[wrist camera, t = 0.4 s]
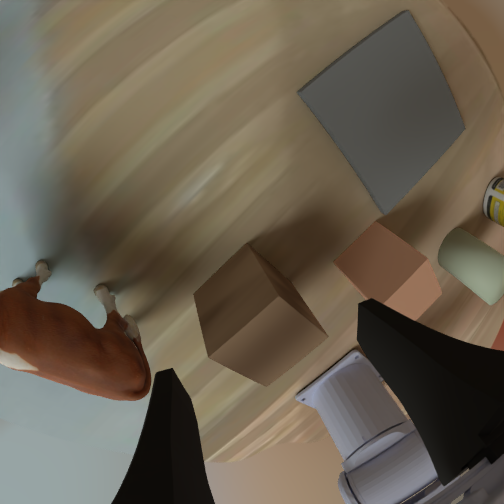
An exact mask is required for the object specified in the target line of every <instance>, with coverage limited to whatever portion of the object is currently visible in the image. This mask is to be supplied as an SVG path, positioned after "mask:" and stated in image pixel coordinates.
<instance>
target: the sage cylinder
mask: <svg viewBox="0 0 504 504" xmlns="http://www.w3.org/2000/svg"><path fill="white" fill-rule="evenodd" d="M438 262H439V265H440V266H441V267H443V268H444V269H445V270H447V271H448V272H449V273H451V274H452V275H453V276H454V277H456V278H457V279H458V280H459V281H461V282H462V283H463V284H464V285H466V286H467V287H468V288H469V289H471V290H472V291H473V292H474V293H476V294H477V295H478V296H479V297H480V298H482V299H483V300H484V301H485V302H486V303H488V304H489V305H493V304H494V303H496V302H497V301H498V300H499V299H500V298H501V297H502V296H503V294H504V256H503V255H502V254H500V253H499V252H497V251H496V250H495V249H493V248H492V247H490V246H488V245H487V244H485V243H484V242H482V241H481V240H479V239H478V238H476V237H475V236H473V235H471V234H470V233H468V232H467V231H465V230H463V229H462V228H455V229H453V230H452V231H451V232H450V233H449V234H448V235H447V236H446V237H445V239H444V240H443V242H442V244H441V246H440V249H439V253H438Z"/></svg>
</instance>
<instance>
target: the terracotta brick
mask: <svg viewBox="0 0 504 504" xmlns="http://www.w3.org/2000/svg"><path fill="white" fill-rule="evenodd" d="M333 263H334V264H335V265H336V266H337V267H338V268H339V269H340V271H341V272H342V273H343V274H344V275H345V276H346V278H347V279H348V280H349V281H350V282H351V283H352V285H353V286H354V287H355V288H356V289H357V291H358V292H359V293H360V294H361V295H362V296H363V297H364V298H365V299H366V300H368V299H370V298H373V299H375V300H377V301H379V302H381V303H382V304H384V305H386V306H388V307H390V308H392V309H393V310H395V311H397V312H399V313H401V314H403V315H405V316H406V317H408V318H410V319H412V320H414V321H416V320H417V319H418V318H419V317H420V316H421V315H422V314H423V313H424V312H425V311H426V310H427V309H428V308H429V307H430V306H431V305H432V304H433V303H434V302H435V300H436V299H437V298H438V297H439V296H440V295H441V294H442V291H441V288H440V286H439V283H438V281H437V278H436V276H435V274H434V271H433V269H432V267H431V264H430V262H429V260H428V258H427V257H425V256H424V255H423V254H421V253H420V252H419V251H417V250H416V249H415V248H413V247H412V246H410V245H409V244H408V243H406V242H405V241H404V240H402V239H401V238H399V237H398V236H397V235H395V234H394V233H392V232H391V231H389V230H388V229H387V228H385V227H384V226H382V225H381V224H379V223H378V222H376V221H375V222H374V223H373V224H372V225H371V226H370V227H369V228H368V229H367V230H366V231H365V232H364V233H363V234H362V235H361V236H360V237H359V238H358V239H357V240H355V241H354V242H353V243H352V244H351V245H350V246H349V247H348V248H347V249H346V250H345V251H344V252H343V253H342V254H341V255H340V256H339V257H338V258H337V259H336V260H335V261H334V262H333Z"/></svg>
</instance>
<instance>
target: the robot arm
mask: <svg viewBox="0 0 504 504" xmlns="http://www.w3.org/2000/svg"><path fill="white" fill-rule="evenodd" d="M357 341H358V342H359V344H360V346H361V348H362V350H363V351H364V353H365V355H366V356H367V358H368V359H367V358H366V357H365V356H364V355H362V354H361V353H360V352H359V351H358V350H352V351H351V352H350V353H349V354H347V355H346V356H345V357H344V358H343V359H342V360H340V361H339V362H338V363H337V364H336V365H334V366H333V367H332V368H331V369H329V370H328V371H327V372H326V373H324V374H323V375H322V376H321V377H319V378H318V379H317V380H316V381H314V382H313V383H312V384H310V385H309V386H308V387H307V388H305V389H304V390H303V391H301V392H300V393H299V394H297V395H296V397H295V398H296V400H297V401H299V402H301V403H304V404H306V405H308V406H311V407H313V408H315V409H317V411H318V413H319V414H320V416H321V418H322V420H323V422H324V424H325V426H326V428H327V429H328V431H329V433H330V435H331V437H332V439H333V441H334V443H335V444H336V446H337V448H338V450H339V452H340V454H341V456H342V457H343V459H344V462H343V463H341V465H342V467H343V469H344V471H343V472H341V473H340V475H339V479H338V487H339V490H340V493H341V495H342V497H343V499H344V501H345V503H346V504H400V503H401V502H403V501H405V500H406V499H408V498H409V497H411V496H413V495H414V494H416V493H417V492H419V491H420V490H421V489H423V488H425V487H426V486H428V485H429V484H430V483H432V482H433V481H435V480H436V479H437V480H436V481H435V482H434V483H433V484H431V485H430V486H428V487H427V488H425V489H424V490H422V491H421V492H419V493H418V494H416V495H415V496H413V497H412V498H410V499H408V500H407V501H405V502H404V503H402V504H451V502H452V501H453V500H455V499H456V498H457V497H459V496H460V495H461V494H463V493H464V492H465V493H464V498H463V500H461V501H460V502H458V503H457V504H504V351H500V350H495V349H490V348H485V347H481V346H478V345H474V344H470V343H467V342H464V341H461V340H458V339H455V338H452V337H450V336H447V335H445V334H442V333H440V332H438V331H435V330H433V329H431V328H429V327H426V326H424V325H422V324H420V323H418V322H416V321H414V320H412V319H410V318H408V317H406V316H405V315H403V314H401V313H399V312H397V311H395V310H393V309H392V308H390V307H388V306H386V305H384V304H382V303H381V302H379V301H377V300H375V299H373V298H370V299H368V300H365V301H363V302H361V303H358V328H357ZM383 380H384V381H385V382H386V383H387V384H388V386H389V387H390V388H391V390H392V391H393V392H394V394H395V395H396V396H397V397H398V399H399V400H400V402H401V403H402V405H403V406H404V408H405V410H406V411H407V413H408V415H409V416H410V418H411V420H412V421H413V423H414V424H413V423H412V421H411V420H410V419H409V420H408V419H407V418H406V416H405V415H404V413H403V412H402V411H401V409H400V408H399V406H398V405H397V404H396V402H395V401H394V399H393V398H392V397H391V395H390V394H389V393H388V391H387V390H386V388H385V387H384V386H383V384H382V383H381V382H382V381H383ZM468 468H469V471H468V472H467V473H466V474H464V475H463V476H462V477H461V476H460V475H461V474H462V473H463V472H464V471H466V470H467V469H468ZM111 504H215V502H214V499H213V496H212V493H211V490H210V487H209V484H208V480H207V476H206V472H205V465H204V460H203V454H202V448H201V442H200V436H199V429H198V423H197V419H196V416H195V412H194V408H193V404H192V401H191V398H190V396H189V395H188V393H187V392H186V390H185V388H184V387H183V385H182V383H181V382H180V380H179V378H178V377H177V375H176V373H175V371H174V370H173V368H170V369H167V370H163V371H159V372H157V373H156V374H155V378H154V383H153V388H152V393H151V398H150V402H149V406H148V410H147V414H146V418H145V422H144V425H143V429H142V432H141V435H140V438H139V442H138V445H137V448H136V451H135V453H134V456H133V459H132V461H131V464H130V467H129V469H128V472H127V474H126V476H125V478H124V480H123V483H122V484H121V487H120V489H119V491H118V493H117V495H116V496H115V498H114V500H113V502H112V503H111Z"/></svg>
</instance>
